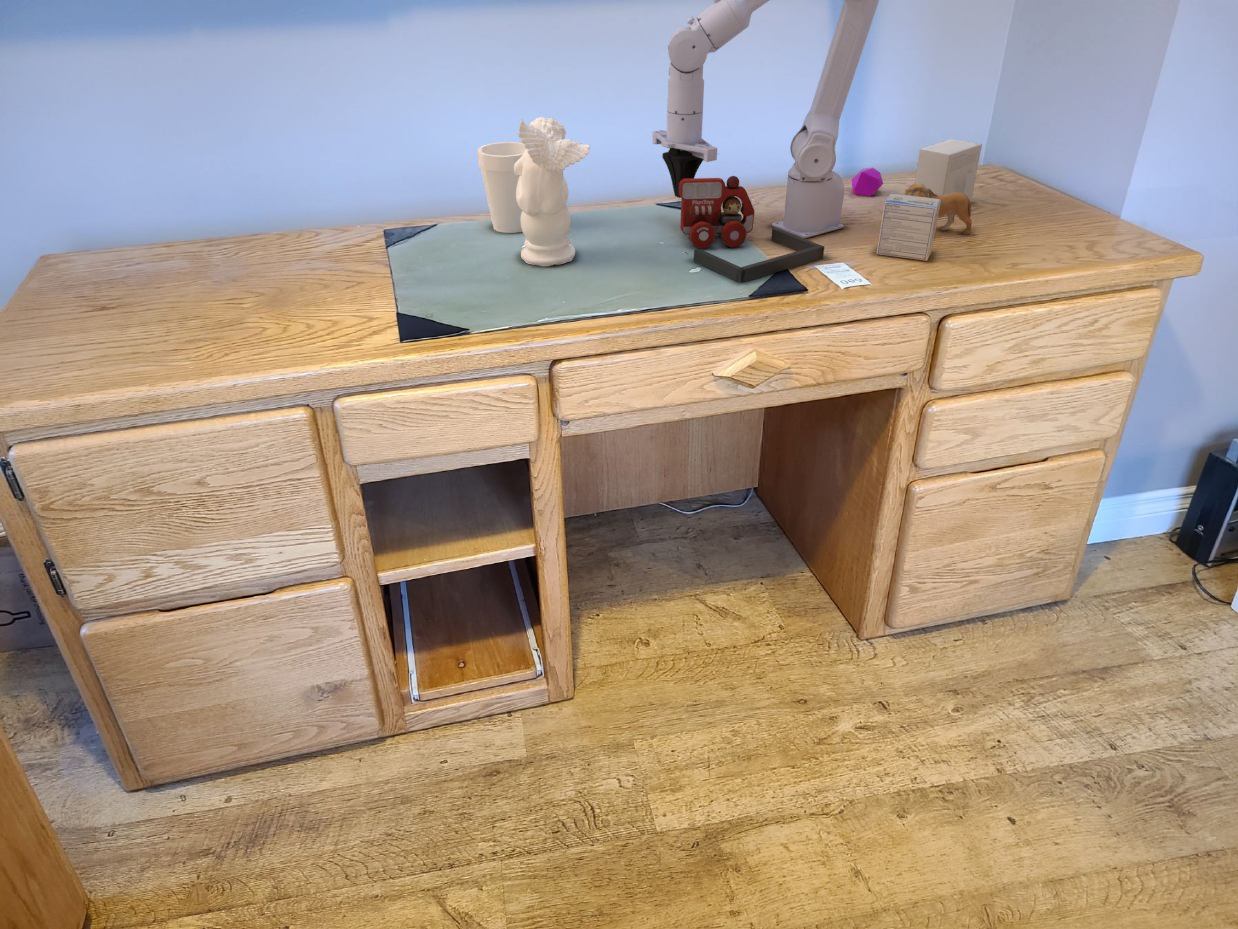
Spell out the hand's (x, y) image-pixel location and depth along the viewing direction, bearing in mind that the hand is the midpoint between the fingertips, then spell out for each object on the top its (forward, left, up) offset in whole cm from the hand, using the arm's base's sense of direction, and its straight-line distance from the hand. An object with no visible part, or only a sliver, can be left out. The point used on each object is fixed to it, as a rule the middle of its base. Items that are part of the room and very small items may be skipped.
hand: (681, 195), depth 150 cm
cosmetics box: (-46, +18, -6) cm, 49 cm away
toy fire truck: (0, +9, -6) cm, 11 cm away
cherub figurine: (+26, +1, -6) cm, 26 cm away
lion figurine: (-31, +28, -6) cm, 42 cm away
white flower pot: (+24, -17, -6) cm, 30 cm away
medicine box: (-20, +31, -6) cm, 38 cm away
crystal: (-40, +5, -6) cm, 41 cm away
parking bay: (0, +20, -5) cm, 20 cm away
